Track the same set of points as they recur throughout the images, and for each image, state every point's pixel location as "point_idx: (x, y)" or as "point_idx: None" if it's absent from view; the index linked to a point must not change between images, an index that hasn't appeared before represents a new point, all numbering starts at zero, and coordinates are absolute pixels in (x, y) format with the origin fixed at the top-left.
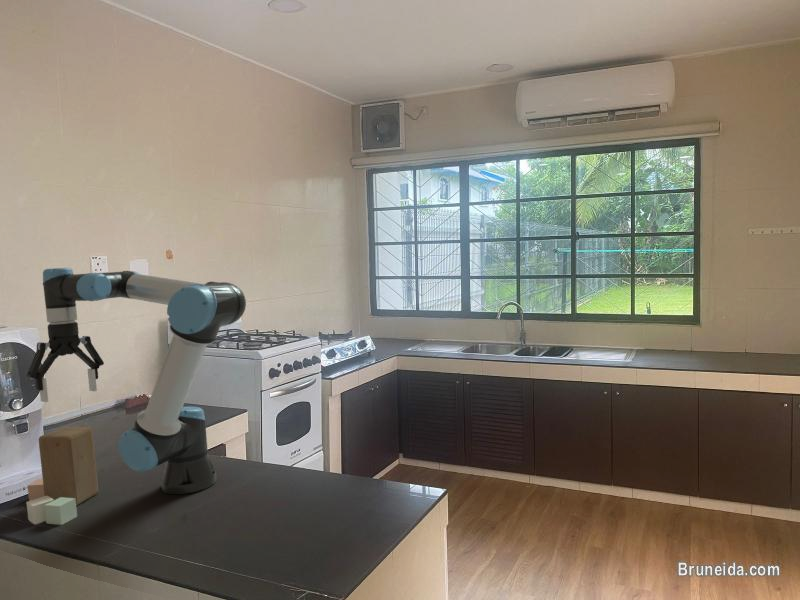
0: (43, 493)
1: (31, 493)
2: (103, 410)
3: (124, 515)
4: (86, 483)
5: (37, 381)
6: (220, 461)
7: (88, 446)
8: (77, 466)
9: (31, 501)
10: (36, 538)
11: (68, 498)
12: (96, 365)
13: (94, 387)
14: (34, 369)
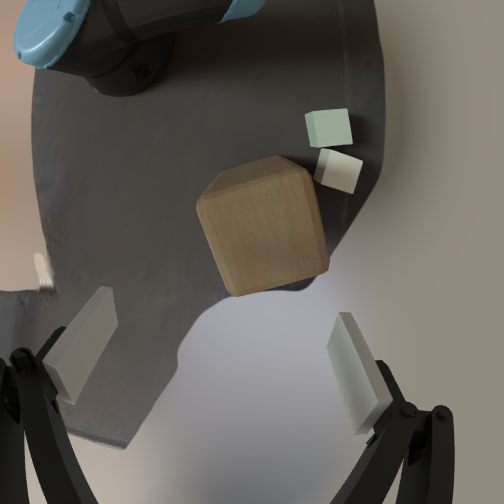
0: None
1: None
2: (75, 433)
3: (269, 40)
4: (248, 165)
5: (401, 398)
6: (42, 113)
7: (226, 181)
8: (272, 163)
9: (349, 186)
10: (378, 108)
11: (317, 125)
12: (22, 374)
13: (101, 297)
14: (448, 446)
